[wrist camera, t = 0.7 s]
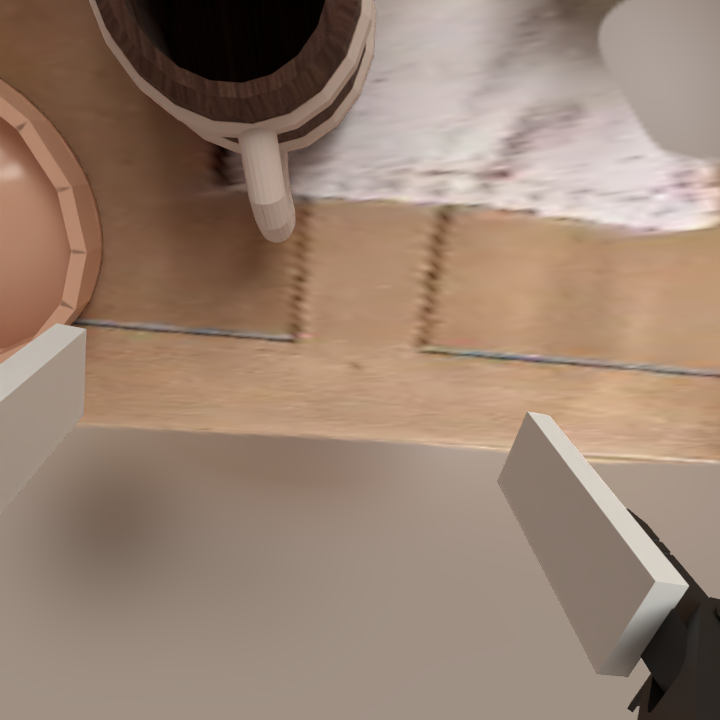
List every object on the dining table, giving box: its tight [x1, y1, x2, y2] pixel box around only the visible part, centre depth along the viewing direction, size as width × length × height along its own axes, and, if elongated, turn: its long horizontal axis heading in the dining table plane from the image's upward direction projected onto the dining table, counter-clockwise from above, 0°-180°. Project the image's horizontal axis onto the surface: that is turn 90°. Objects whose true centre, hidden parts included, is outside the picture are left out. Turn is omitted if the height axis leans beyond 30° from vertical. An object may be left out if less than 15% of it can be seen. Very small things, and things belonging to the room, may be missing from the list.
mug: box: [89, 0, 376, 243], centre depth 28 cm, size 20×15×15 cm
